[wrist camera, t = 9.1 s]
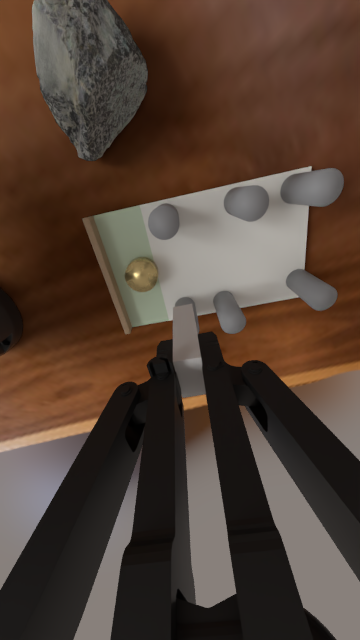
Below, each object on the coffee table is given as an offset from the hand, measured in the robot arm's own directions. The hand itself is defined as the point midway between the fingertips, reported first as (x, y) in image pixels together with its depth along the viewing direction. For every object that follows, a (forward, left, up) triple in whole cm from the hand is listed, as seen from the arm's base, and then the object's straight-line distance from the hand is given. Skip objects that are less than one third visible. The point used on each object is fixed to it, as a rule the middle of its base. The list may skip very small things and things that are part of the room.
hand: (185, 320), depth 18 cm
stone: (-5, +19, -18) cm, 27 cm away
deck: (+3, 0, -18) cm, 18 cm away
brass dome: (-6, 0, -16) cm, 17 cm away
